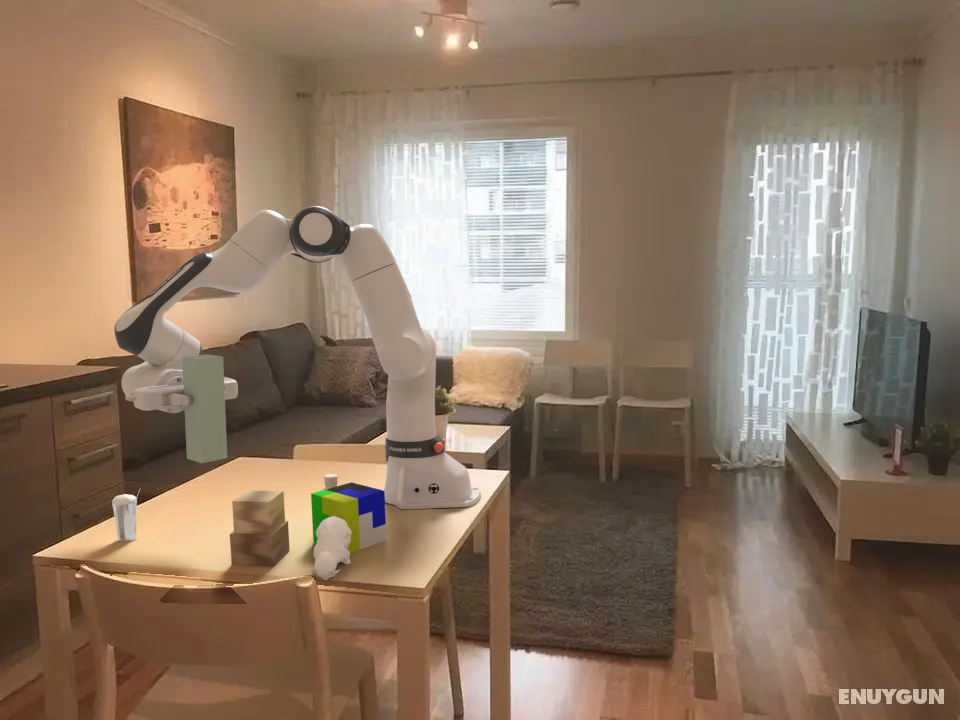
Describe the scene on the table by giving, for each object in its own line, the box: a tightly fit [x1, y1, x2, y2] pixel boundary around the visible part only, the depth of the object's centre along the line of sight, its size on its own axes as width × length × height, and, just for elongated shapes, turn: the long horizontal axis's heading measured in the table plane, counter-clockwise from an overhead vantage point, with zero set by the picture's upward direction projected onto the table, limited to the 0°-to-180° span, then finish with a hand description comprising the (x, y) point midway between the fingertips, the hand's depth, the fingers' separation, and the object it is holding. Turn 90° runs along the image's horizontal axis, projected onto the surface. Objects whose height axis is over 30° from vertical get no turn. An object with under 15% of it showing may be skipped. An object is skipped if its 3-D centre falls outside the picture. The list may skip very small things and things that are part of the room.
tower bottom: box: [229, 520, 290, 568], centre depth 153 cm, size 8×8×6 cm
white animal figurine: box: [312, 517, 352, 581], centre depth 146 cm, size 6×8×12 cm
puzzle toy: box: [310, 481, 387, 554], centre depth 161 cm, size 10×10×10 cm
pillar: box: [182, 353, 228, 464], centre depth 160 cm, size 6×6×20 cm
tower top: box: [231, 489, 286, 534], centre depth 152 cm, size 7×7×6 cm
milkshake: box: [111, 488, 141, 543], centre depth 165 cm, size 4×5×10 cm
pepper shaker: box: [321, 473, 339, 491], centre depth 169 cm, size 5×5×11 cm
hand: (206, 398), depth 160 cm, fingers closed on pillar, 5 cm apart
